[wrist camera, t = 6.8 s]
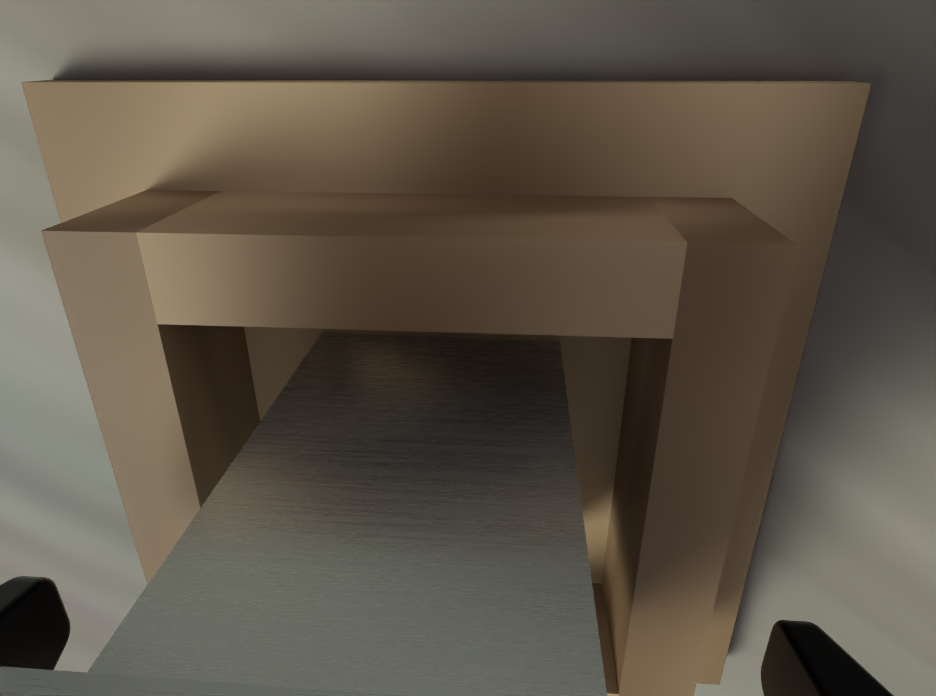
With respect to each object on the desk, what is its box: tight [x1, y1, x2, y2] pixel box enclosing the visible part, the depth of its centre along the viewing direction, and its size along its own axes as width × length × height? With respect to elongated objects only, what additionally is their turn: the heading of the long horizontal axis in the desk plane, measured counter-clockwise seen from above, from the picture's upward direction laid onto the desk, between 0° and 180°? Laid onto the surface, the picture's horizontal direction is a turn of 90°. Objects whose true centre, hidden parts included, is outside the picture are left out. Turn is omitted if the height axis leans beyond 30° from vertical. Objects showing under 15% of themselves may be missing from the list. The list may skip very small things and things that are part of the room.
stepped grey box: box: [0, 333, 607, 696], centre depth 8 cm, size 4×6×8 cm
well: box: [21, 80, 871, 696], centre depth 11 cm, size 12×12×3 cm
